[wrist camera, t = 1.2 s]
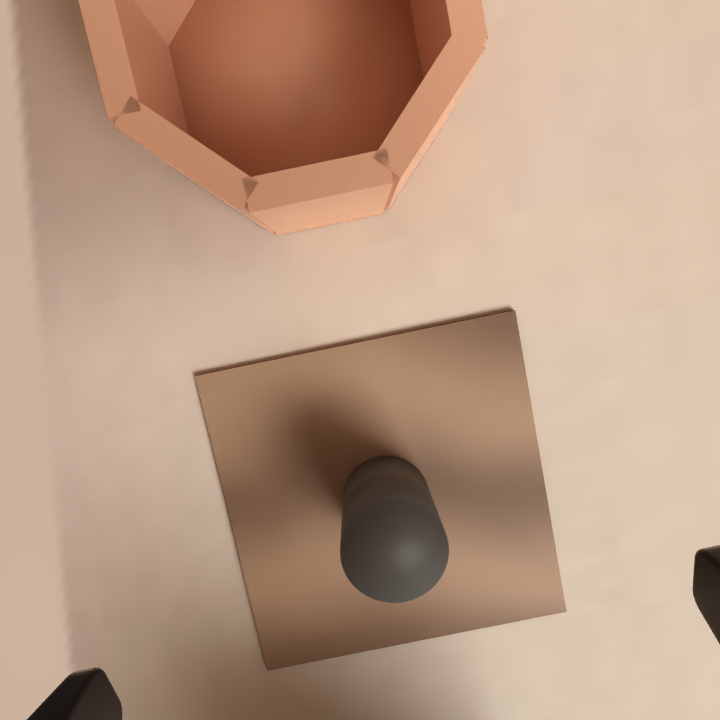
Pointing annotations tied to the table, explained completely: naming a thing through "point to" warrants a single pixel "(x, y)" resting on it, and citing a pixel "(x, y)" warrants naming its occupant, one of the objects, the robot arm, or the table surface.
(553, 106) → the table surface
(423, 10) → the bowl
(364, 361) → the lid
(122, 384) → the table surface
